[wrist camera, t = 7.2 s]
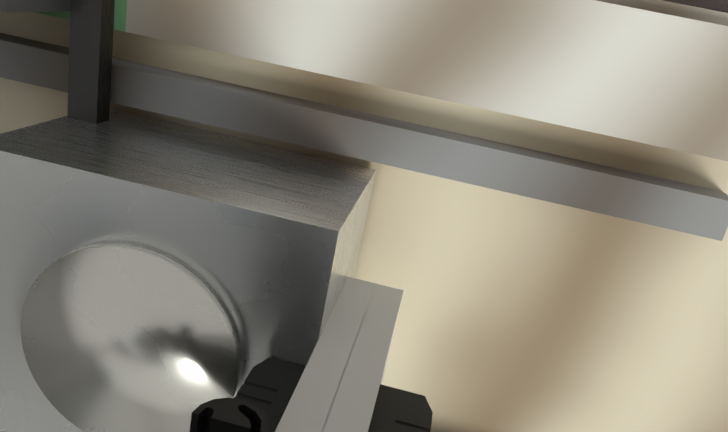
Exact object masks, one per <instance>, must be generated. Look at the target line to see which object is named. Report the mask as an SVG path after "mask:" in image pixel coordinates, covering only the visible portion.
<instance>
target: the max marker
mask: <svg viewBox="0 0 728 432" xmlns="http://www.w3.org/2000/svg"><path fill="white" fill-rule="evenodd" d="M70 1H71V0H0V11H1V12H66V11H70Z"/></svg>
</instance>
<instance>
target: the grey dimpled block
mask: <svg viewBox="0 0 728 432" xmlns="http://www.w3.org/2000/svg"><path fill="white" fill-rule="evenodd" d="M114 11H115V0H71V1H70V38H69V75H68V113H67V116H64V117H61V118H57V119H53V120H49V121H46V122H42V123H38V124H35V125H31V126H27V127H23V128H20V129H16V130H12V131H9V132H5V133H1V134H0V432H190V423H191V415H192V412H193V411H194V410H195V409H196V408H197V407H198V406H199V405H201V404H203V403H205V402H208V401H210V400H213V399H220V398H234V397H235V396H236V395H237V392H238V391H239V389H240V387H241V386H242V384H244V381H245V379H246V378H247V376H248V375H249V373H250V371H251V370H252V368H253V367H254V366H256V365H257V364H259V363H261V362H262V361H264V360H266V359H267V358H269V357H272V358H276V359H280V360H284V361H287V362H291V363H295V364H299V365H303V366H306V365H307V363H308V361H309V359H310V357H311V355H312V353H313V350H314V348H315V346H316V344H317V342H318V340H319V338H320V336H321V334H322V332H323V330H324V328H325V325H326V323H327V321H328V319H329V317H330V315H331V313H332V311H333V308H334V306H335V304H336V302H337V300H338V298H339V296H340V294H341V291H342V289H343V287H344V285H345V283H346V281H347V279H348V277H352V278H355V273H356V268H357V263H358V258H359V253H360V248H361V243H362V238H363V234H364V229H365V224H366V219H367V214H368V209H369V204H370V199H371V194H372V189H373V184H374V179H375V174H376V169H372V168H367V167H363V166H358V165H354V164H350V163H345V162H341V161H336V160H332V159H328V158H323V157H319V156H314V155H310V154H306V153H301V152H297V151H293V150H288V149H284V148H279V147H275V146H271V145H266V144H262V143H257V142H253V141H249V140H244V139H240V138H236V137H231V136H227V135H222V134H218V133H214V132H209V131H205V130H200V129H196V128H192V127H187V126H183V125H179V124H174V123H170V122H165V121H161V120H157V119H152V118H148V117H143V116H139V115H135V114H130V113H126V112H121V111H117V110H113V109H110V91H111V71H112V51H113V31H114Z"/></svg>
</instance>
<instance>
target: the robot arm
mask: <svg viewBox="0 0 728 432" xmlns="http://www.w3.org/2000/svg"><path fill="white" fill-rule="evenodd" d="M403 291H404V290H400V289H396V288H392V287H388V286H384V285H380V284H376V283H372V282H368V281H364V280H360V279H356V278H352V277H348V279H347V281H346V283H345V285H344V287H343V289H342V291H341V294H340V296H339V298H338V300H337V302H336V304H335V306H334V308H333V311H332V313H331V315H330V317H329V319H328V321H327V323H326V325H325V328H324V330H323V332H322V334H321V336H320V338H319V340H318V342H317V344H316V346H315V348H314V350H313V353H312V355H311V357H310V359H309V361H308V363H307V365H306V366H303V365H299V364H295V363H291V362H287V361H284V360H280V359H276V358H272V357H269V358H267V359H266V360H264V361H262V362H261V363H259V364H257V365H256V366H254V367H253V368H252V370H251V371H250V373H249V375H248V376H247V378H246V379H245V381H244V384H242V386H241V387H240V389H239V391H238V392H237V395H236V396H235V397H234V398H220V399H213V400H210V401H208V402H205V403H203V404H201V405H199V406H198V407H197V408H196V409H195V410H194V411H193V412H192V415H191V423H190V432H430V431H431V424H432V414H433V412H432V410H431V408H430V406H429V404H428V402H427V399H426V397H425V396H424V395H420V394H416V393H412V392H408V391H404V390H401V389H397V388H393V387H389V386H385V385H382V381H383V377H384V373H385V369H386V364H387V360H388V356H389V351H390V347H391V343H392V339H393V334H394V330H395V326H396V321H397V317H398V313H399V309H400V304H401V300H402V296H403Z"/></svg>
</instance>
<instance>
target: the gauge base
mask: <svg viewBox="0 0 728 432" xmlns="http://www.w3.org/2000/svg"><path fill="white" fill-rule="evenodd" d="M69 38H70V11H66V12H1V11H0V134H1V133H5V132H9V131H12V130H16V129H20V128H23V127H27V126H31V125H35V124H38V123H42V122H46V121H49V120H53V119H57V118H61V117H64V116H67V113H68V75H69ZM110 109H113V110H117V111H121V112H126V113H130V114H135V115H139V116H143V117H148V118H152V119H157V120H161V121H165V122H170V123H174V124H179V125H183V126H187V127H192V128H196V129H200V130H205V131H209V132H214V133H218V134H222V135H227V136H231V137H236V138H240V139H244V140H249V141H253V142H257V143H262V144H266V145H271V146H275V147H279V148H284V149H288V150H293V151H297V152H301V153H306V154H310V155H314V156H319V157H323V158H328V159H332V160H336V161H341V162H345V163H350V164H354V165H358V166H363V167H367V168H372V169H376V174H375V179H374V184H373V189H372V194H371V199H370V204H369V209H368V214H367V219H366V224H365V229H364V234H363V238H362V243H361V248H360V253H359V258H358V263H357V268H356V273H355V278H356V279H360V280H364V281H368V282H372V283H376V284H380V285H384V286H388V287H392V288H396V289H400V290H404V291H403V296H402V300H401V304H400V309H399V313H398V317H397V321H396V326H395V330H394V334H393V339H392V343H391V347H390V351H389V356H388V360H387V364H386V369H385V373H384V377H383V381H382V385H385V386H389V387H393V388H397V389H401V390H404V391H408V392H412V393H416V394H420V395H424V396H425V397H426V399H427V402H428V404H429V406H430V408H431V410H432V412H433V414H432V424H431V431H430V432H728V13H725V12H720V11H714V10H709V9H704V8H699V7H694V6H689V5H683V4H678V3H673V2H668V1H663V0H115V11H114V31H113V51H112V71H111V91H110Z"/></svg>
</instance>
